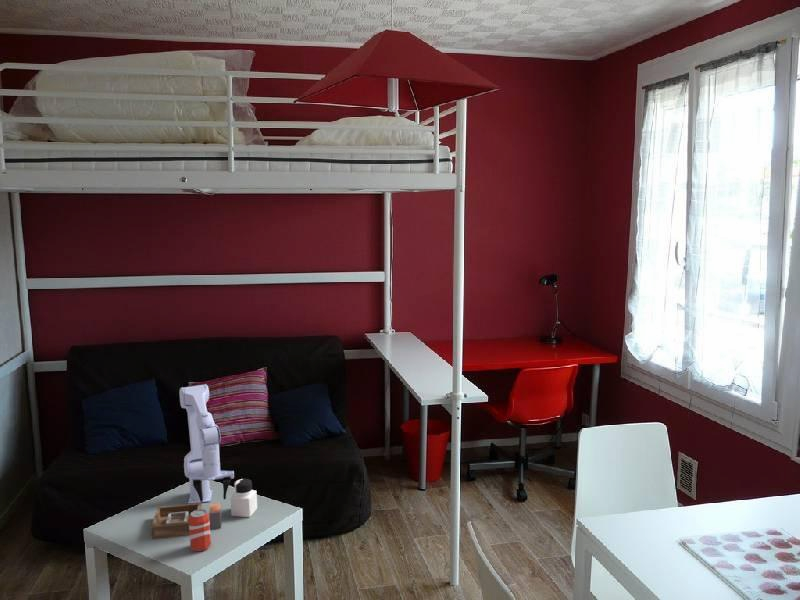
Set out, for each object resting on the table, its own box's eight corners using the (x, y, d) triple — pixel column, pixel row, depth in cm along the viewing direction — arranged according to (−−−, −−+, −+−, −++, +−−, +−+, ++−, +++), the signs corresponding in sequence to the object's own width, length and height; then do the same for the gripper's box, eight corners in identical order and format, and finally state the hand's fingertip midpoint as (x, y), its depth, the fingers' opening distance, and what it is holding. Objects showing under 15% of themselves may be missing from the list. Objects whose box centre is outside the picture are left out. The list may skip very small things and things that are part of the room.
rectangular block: (211, 522, 233) (210, 504, 232) (221, 521, 233) (220, 502, 232) (210, 529, 228) (209, 510, 227) (220, 528, 229) (219, 509, 228)
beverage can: (205, 540, 221) (203, 506, 219) (214, 547, 216) (212, 513, 214) (187, 547, 217) (185, 512, 215) (196, 554, 212) (194, 519, 210)
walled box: (158, 517, 237) (157, 507, 236) (202, 513, 240) (201, 502, 239) (151, 538, 222) (151, 527, 222) (198, 533, 225) (197, 522, 225)
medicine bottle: (257, 508, 243) (256, 477, 241) (250, 517, 236) (248, 485, 234) (239, 507, 244) (237, 476, 242) (231, 516, 237) (229, 484, 235)
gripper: (187, 468, 221) (190, 506, 224) (232, 464, 224) (234, 502, 226) (189, 460, 228) (192, 497, 230) (233, 456, 231) (235, 493, 233)
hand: (213, 499), depth 229 cm, fingers open, 7 cm apart
